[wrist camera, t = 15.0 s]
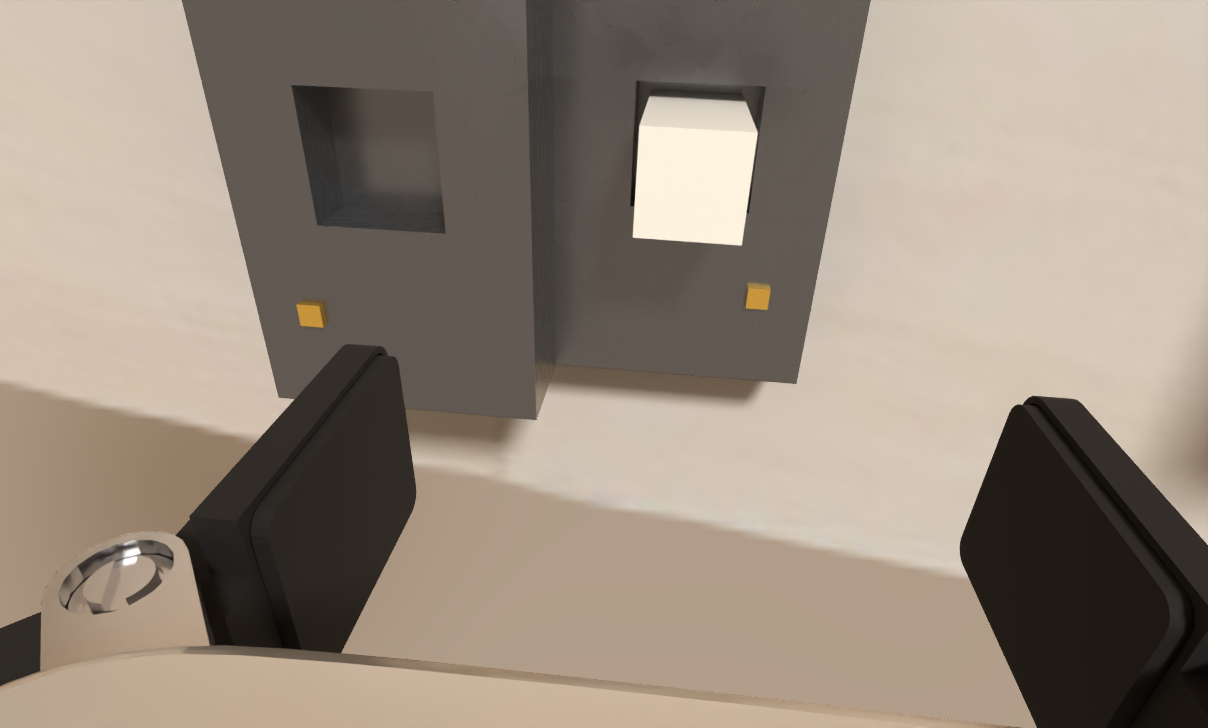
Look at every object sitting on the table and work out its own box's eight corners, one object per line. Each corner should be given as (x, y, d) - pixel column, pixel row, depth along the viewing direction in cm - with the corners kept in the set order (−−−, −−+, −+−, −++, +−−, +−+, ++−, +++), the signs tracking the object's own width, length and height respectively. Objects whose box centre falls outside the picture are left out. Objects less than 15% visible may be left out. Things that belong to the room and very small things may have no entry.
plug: (651, 89, 31) (639, 125, 24) (743, 95, 30) (757, 132, 23) (644, 191, 33) (631, 250, 26) (730, 196, 33) (739, 258, 26)
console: (281, -168, 29) (122, -220, 21) (877, -158, 27) (956, -212, 19) (359, 313, 40) (275, 401, 32) (786, 345, 38) (812, 448, 30)
